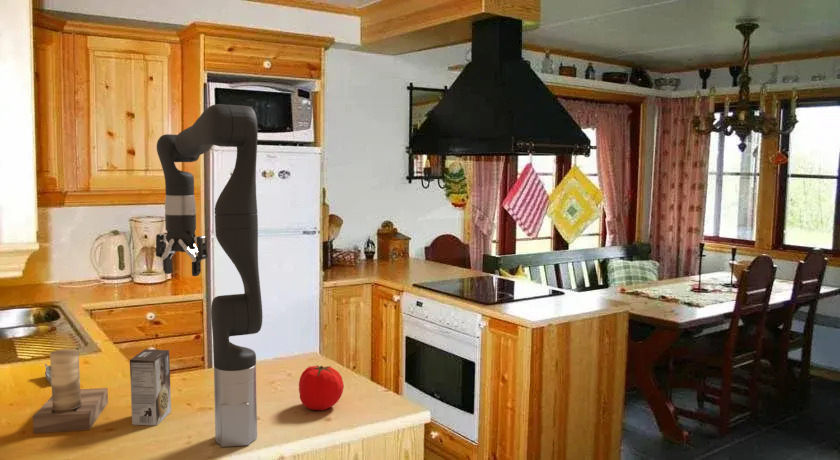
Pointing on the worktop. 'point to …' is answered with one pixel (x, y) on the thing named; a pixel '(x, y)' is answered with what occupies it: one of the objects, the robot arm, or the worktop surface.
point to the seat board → (72, 413)
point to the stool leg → (65, 380)
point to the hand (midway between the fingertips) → (182, 274)
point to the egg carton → (48, 373)
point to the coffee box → (150, 387)
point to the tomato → (320, 387)
